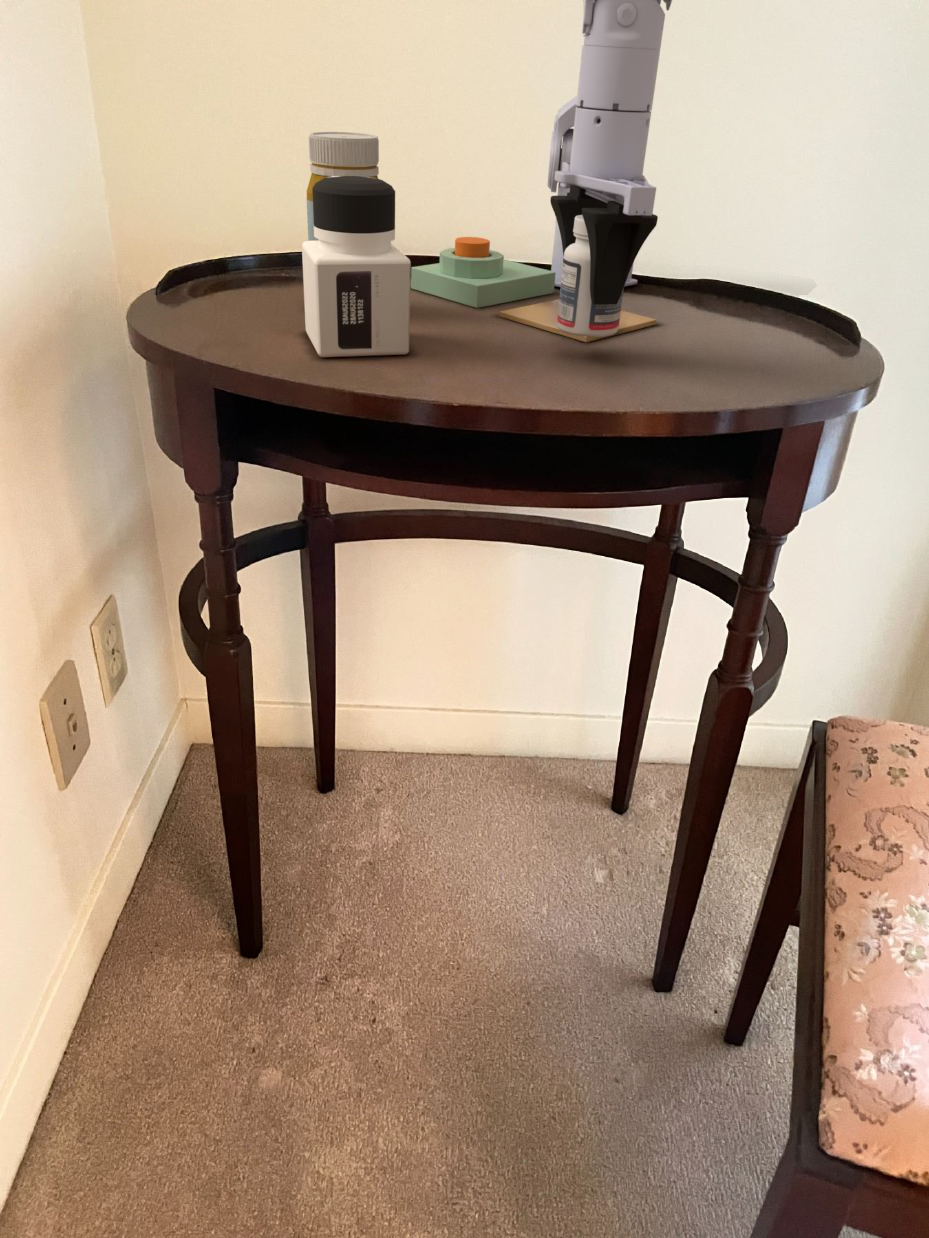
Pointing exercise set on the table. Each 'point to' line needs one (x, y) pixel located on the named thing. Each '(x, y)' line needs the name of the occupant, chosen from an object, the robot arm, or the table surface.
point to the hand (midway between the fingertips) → (591, 294)
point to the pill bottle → (583, 293)
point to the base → (481, 279)
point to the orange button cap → (472, 247)
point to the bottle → (339, 161)
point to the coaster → (548, 316)
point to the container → (355, 271)
